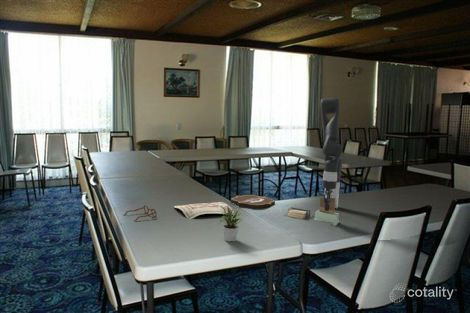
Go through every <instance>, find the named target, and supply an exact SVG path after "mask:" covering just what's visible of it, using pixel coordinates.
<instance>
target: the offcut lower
mask: <svg viewBox="0 0 470 313" xmlns="http://www.w3.org/2000/svg"><path fill="white" fill-rule="evenodd" d="M288 216H290V217H289V218H292V217H296V218H295V219H298V218H301V219H300V220H303V218H305V217H306V215H305V216H299V215H293V214H288Z"/></svg>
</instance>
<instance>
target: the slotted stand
mask: <svg viewBox="0 0 470 313" xmlns="http://www.w3.org/2000/svg"><path fill="white" fill-rule="evenodd" d="M314 215H315V216H314V219H313V220H315V221H322V222H326V223H327V222H328V223H329V225H330V226H334V227H336V226H337V225H338V224H339V215H340V213H337V212H335V214H329V213H322V212H320V209H317V210H316V211H315V213H314Z"/></svg>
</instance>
